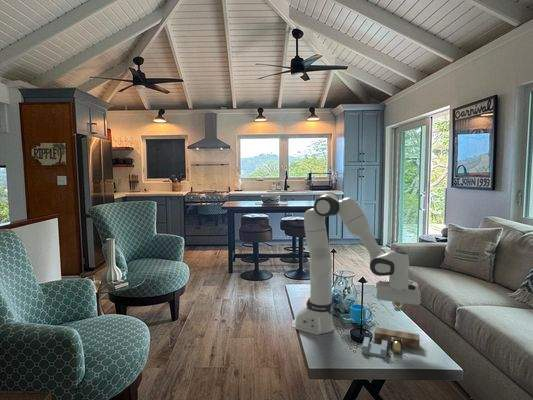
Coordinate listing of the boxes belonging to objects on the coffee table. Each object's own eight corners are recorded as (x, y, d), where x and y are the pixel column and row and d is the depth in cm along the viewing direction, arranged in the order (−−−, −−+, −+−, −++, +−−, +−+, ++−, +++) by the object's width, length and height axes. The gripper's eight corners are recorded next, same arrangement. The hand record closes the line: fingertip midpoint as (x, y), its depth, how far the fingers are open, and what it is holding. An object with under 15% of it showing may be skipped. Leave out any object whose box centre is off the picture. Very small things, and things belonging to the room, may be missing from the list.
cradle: (362, 353, 157) (362, 345, 157) (364, 344, 166) (364, 336, 165) (386, 357, 153) (386, 350, 153) (387, 348, 162) (387, 340, 161)
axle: (391, 353, 157) (392, 346, 157) (393, 339, 170) (394, 332, 169) (399, 356, 156) (401, 348, 155) (400, 341, 169) (402, 335, 168)
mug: (353, 324, 186) (353, 310, 186) (348, 318, 194) (348, 304, 194) (374, 323, 187) (374, 309, 187) (368, 317, 196) (368, 303, 195)
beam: (374, 342, 167) (374, 332, 167) (375, 336, 173) (375, 327, 172) (419, 350, 160) (419, 340, 159) (418, 344, 165) (419, 334, 165)
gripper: (375, 282, 168) (374, 309, 169) (421, 287, 161) (420, 316, 162) (376, 278, 174) (375, 305, 175) (420, 283, 166) (419, 311, 168)
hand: (397, 310), depth 169 cm, fingers closed
